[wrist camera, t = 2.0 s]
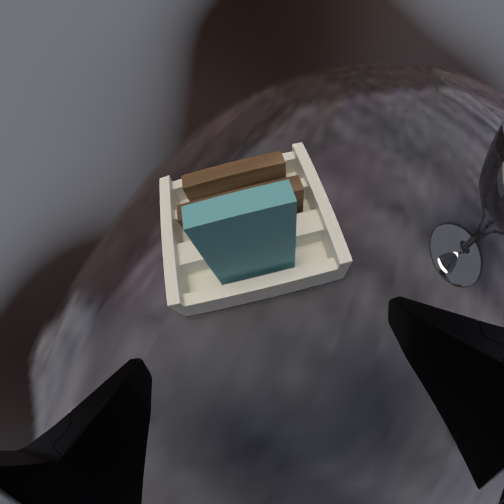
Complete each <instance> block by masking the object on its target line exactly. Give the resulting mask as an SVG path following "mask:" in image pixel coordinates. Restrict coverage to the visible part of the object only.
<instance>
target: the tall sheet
mask: <svg viewBox="0 0 504 504" xmlns="http://www.w3.org/2000/svg"><path fill="white" fill-rule="evenodd" d="M181 211H182V222H183V230H184V232H185V233H186V234H187V236H188V237H189V239H190V240H191V242H192V243H193V245H194V246H195V247H196V249H197V250H198V252H199V253H200V254H201V256H202V257H203V259H204V260H205V262H206V263H207V264H208V266H209V267H210V269H211V270H212V271H213V273H214V274H215V276H216V277H217V278H218V280H219V281H220V282H221V284H222V285H225V284H229V283H233V282H238V281H242V280H246V279H250V278H254V277H258V276H262V275H266V274H271V273H275V272H279V271H283V270H287V269H290V268H294V267H295V250H296V222H297V200H296V197H295V194H294V192H293V189H292V186H291V184H290V181H289V179H288V180H283V181H279V182H274V183H270V184H266V185H262V186H257V187H253V188H249V189H245V190H241V191H237V192H233V193H229V194H225V195H221V196H218V197H214V198H210V199H206V200H203V201H199V202H196V203H192V204H188V205H185V206H181Z"/></svg>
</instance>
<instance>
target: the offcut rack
mask: <svg viewBox="0 0 504 504" xmlns="http://www.w3.org/2000/svg"><path fill="white" fill-rule="evenodd" d="M282 155H283V157H284V160H285V162H286V177H290V176H295V175H299V178H300V180H301V183H302V185H303V188H304V202H303V212H302V213H298V214H297V222H296V250H295V267H294V268H290V269H287V270H283V271H279V272H275V273H271V274H266V275H262V276H258V277H254V278H250V279H246V280H242V281H238V282H233V283H229V284H225V285H222V284H221V282H220V281H219V280H218V278H217V277H216V276H215V274H214V273H213V271H212V270H211V269H210V267H209V266H208V264H207V263H206V262H205V260H204V259H203V257H202V256H201V254H200V253H199V252H198V250H197V249H196V247H195V246H194V245H193V243H192V242H191V240H190V239H189V237H188V236H187V234H186V233H185V232H184V230H183V228H182V227H181V225H180V224H179V222H178V220H177V208H176V205H180V204H183V203H187V202H189V200H188V198H187V196H186V194H185V192H184V191H183V189H182V179H180V180H177V181H173V182H172V180H171V178H170V176H166V177H163V178H160V215H161V235H162V251H163V264H164V275H165V286H166V296H167V305H168V306H169V307H170V308H172V309H174V310H175V311H177V312H179V313H180V314H182V315H184V316H185V317H187V316H191V315H196V314H201V313H206V312H210V311H215V310H220V309H224V308H228V307H233V306H237V305H242V304H246V303H250V302H254V301H259V300H263V299H267V298H271V297H275V296H279V295H283V294H287V293H291V292H295V291H299V290H302V289H306V288H310V287H314V286H318V285H321V284H325V283H329V282H332V281H336V280H339V279H343V278H344V276H345V274H346V272H347V270H348V269H349V267H350V265H351V263H352V261H353V260H352V258H351V255H350V252H349V250H348V247H347V244H346V242H345V239H344V237H343V234H342V231H341V229H340V226H339V224H338V221H337V219H336V217H335V214H334V212H333V209H332V207H331V204H330V202H329V200H328V197H327V195H326V193H325V190H324V188H323V186H322V184H321V181H320V179H319V177H318V175H317V173H316V170H315V168H314V166H313V164H312V162H311V160H310V158H309V155H308V153H307V151H306V149H305V147H304V145H303V143H302V142H301V143H296V144H292V152H287V153H282Z"/></svg>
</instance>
